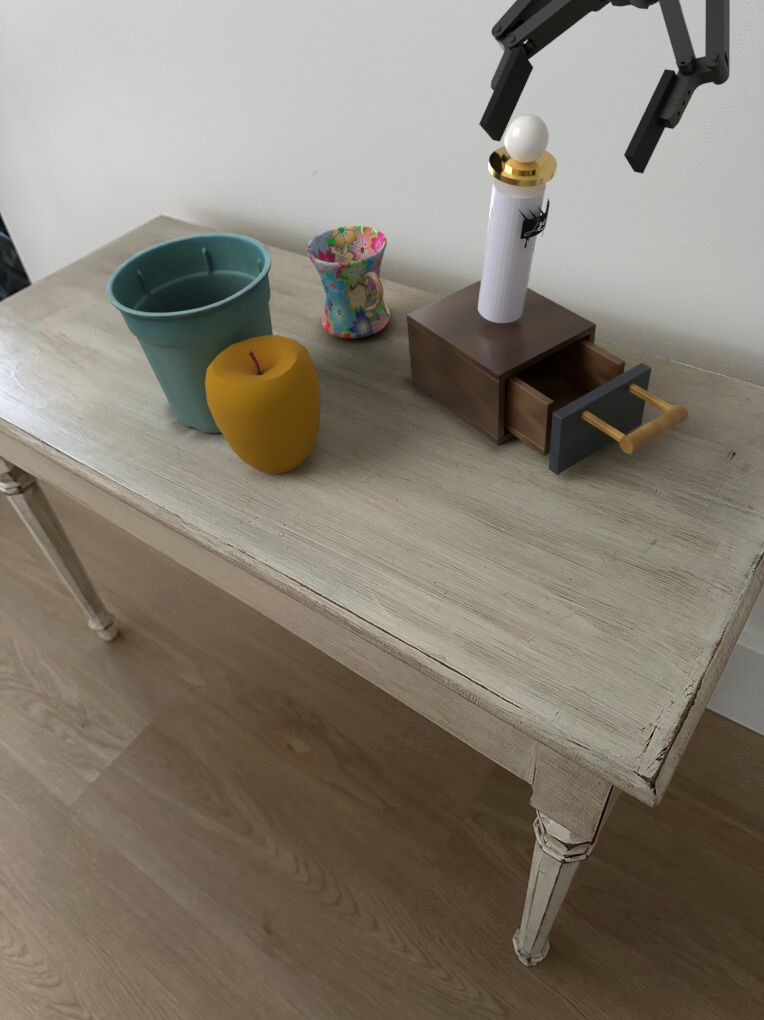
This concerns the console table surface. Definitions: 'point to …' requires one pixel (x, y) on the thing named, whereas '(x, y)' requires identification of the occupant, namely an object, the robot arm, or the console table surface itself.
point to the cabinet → (484, 352)
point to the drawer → (583, 405)
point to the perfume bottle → (514, 217)
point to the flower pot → (193, 310)
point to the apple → (266, 401)
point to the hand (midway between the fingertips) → (557, 148)
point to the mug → (351, 280)
